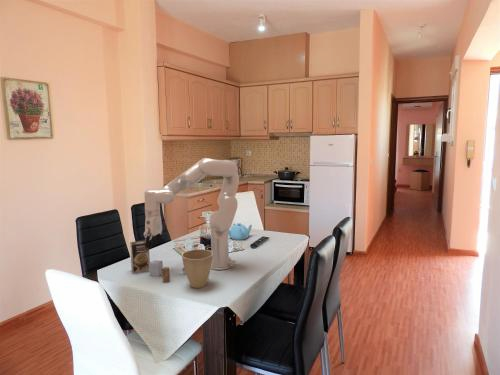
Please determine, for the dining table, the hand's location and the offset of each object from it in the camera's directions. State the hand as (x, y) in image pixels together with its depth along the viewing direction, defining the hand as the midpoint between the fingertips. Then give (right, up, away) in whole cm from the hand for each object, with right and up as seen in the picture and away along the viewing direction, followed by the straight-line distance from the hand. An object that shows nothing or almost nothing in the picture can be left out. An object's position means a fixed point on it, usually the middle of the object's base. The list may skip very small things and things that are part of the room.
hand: (153, 244), depth 192 cm
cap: (+1, -16, +2) cm, 16 cm away
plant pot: (+25, -18, -13) cm, 34 cm away
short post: (+17, -16, +1) cm, 23 cm away
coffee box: (-9, -16, +8) cm, 20 cm away
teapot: (+43, -6, +69) cm, 82 cm away
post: (+8, -17, -8) cm, 21 cm away
